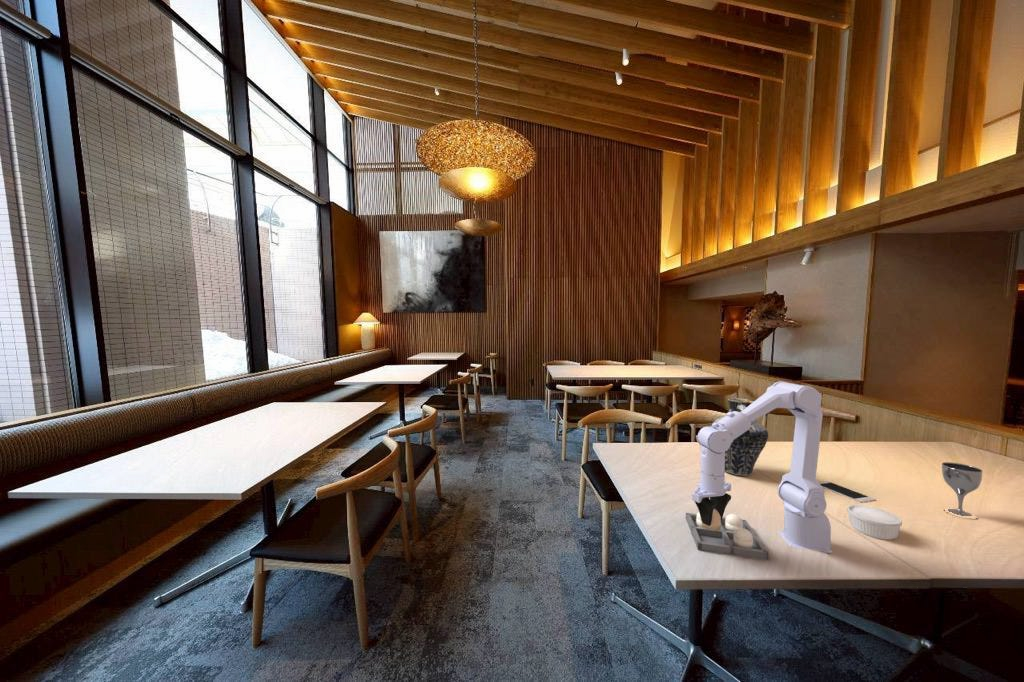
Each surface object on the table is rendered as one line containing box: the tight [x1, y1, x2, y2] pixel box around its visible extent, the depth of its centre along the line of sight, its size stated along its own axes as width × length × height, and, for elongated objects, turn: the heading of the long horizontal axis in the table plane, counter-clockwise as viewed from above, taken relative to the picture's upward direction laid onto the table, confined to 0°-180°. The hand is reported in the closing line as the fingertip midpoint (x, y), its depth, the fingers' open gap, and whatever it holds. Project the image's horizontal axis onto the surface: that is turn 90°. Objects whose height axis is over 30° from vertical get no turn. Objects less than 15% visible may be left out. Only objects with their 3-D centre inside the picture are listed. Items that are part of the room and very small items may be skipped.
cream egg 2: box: [725, 513, 743, 531], centre depth 103 cm, size 4×4×5 cm
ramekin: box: [846, 504, 903, 541], centre depth 104 cm, size 11×11×5 cm
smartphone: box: [818, 480, 877, 504], centre depth 129 cm, size 7×16×1 cm, turn 14°
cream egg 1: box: [696, 511, 703, 527], centre depth 105 cm, size 4×4×5 cm
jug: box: [712, 397, 769, 477], centre depth 146 cm, size 21×19×30 cm
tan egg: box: [702, 509, 721, 531], centre depth 97 cm, size 4×4×5 cm
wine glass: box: [941, 461, 983, 516], centre depth 113 cm, size 8×8×15 cm
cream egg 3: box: [734, 528, 753, 549], centre depth 95 cm, size 4×4×5 cm
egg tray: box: [685, 512, 770, 561], centre depth 100 cm, size 16×16×2 cm
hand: (711, 521), depth 97 cm, fingers closed on tan egg, 4 cm apart
